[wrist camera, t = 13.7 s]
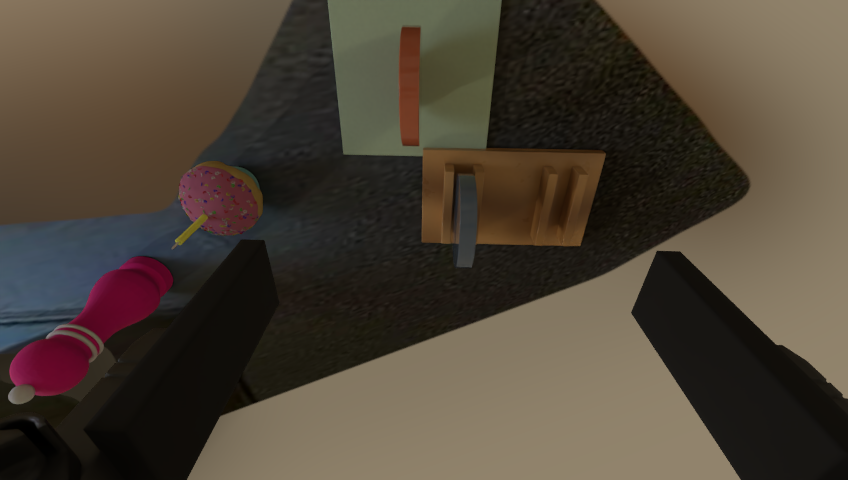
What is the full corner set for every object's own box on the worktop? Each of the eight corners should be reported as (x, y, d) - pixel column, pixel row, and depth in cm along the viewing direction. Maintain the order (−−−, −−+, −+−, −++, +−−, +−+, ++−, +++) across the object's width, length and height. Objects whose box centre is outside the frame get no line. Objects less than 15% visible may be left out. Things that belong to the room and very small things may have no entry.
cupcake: (253, 227, 48) (204, 286, 37) (190, 185, 45) (118, 236, 35) (288, 182, 44) (245, 233, 34) (223, 133, 41) (154, 173, 31)
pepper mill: (185, 272, 52) (64, 400, 35) (166, 301, 55) (45, 433, 38) (132, 243, 49) (-25, 365, 32) (115, 275, 52) (-38, 403, 35)
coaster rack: (423, 146, 42) (422, 157, 39) (602, 149, 41) (616, 161, 38) (421, 237, 48) (421, 253, 45) (577, 241, 48) (587, 257, 45)
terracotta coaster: (405, 23, 35) (397, 26, 27) (422, 23, 35) (419, 26, 27) (406, 130, 40) (399, 161, 32) (421, 130, 40) (418, 161, 32)
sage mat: (326, -18, 34) (325, -18, 34) (502, -15, 34) (503, -15, 33) (344, 153, 42) (343, 154, 42) (484, 156, 42) (485, 157, 42)
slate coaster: (456, 159, 41) (462, 198, 33) (470, 159, 41) (480, 199, 33) (451, 236, 46) (455, 287, 38) (464, 236, 46) (471, 287, 38)
